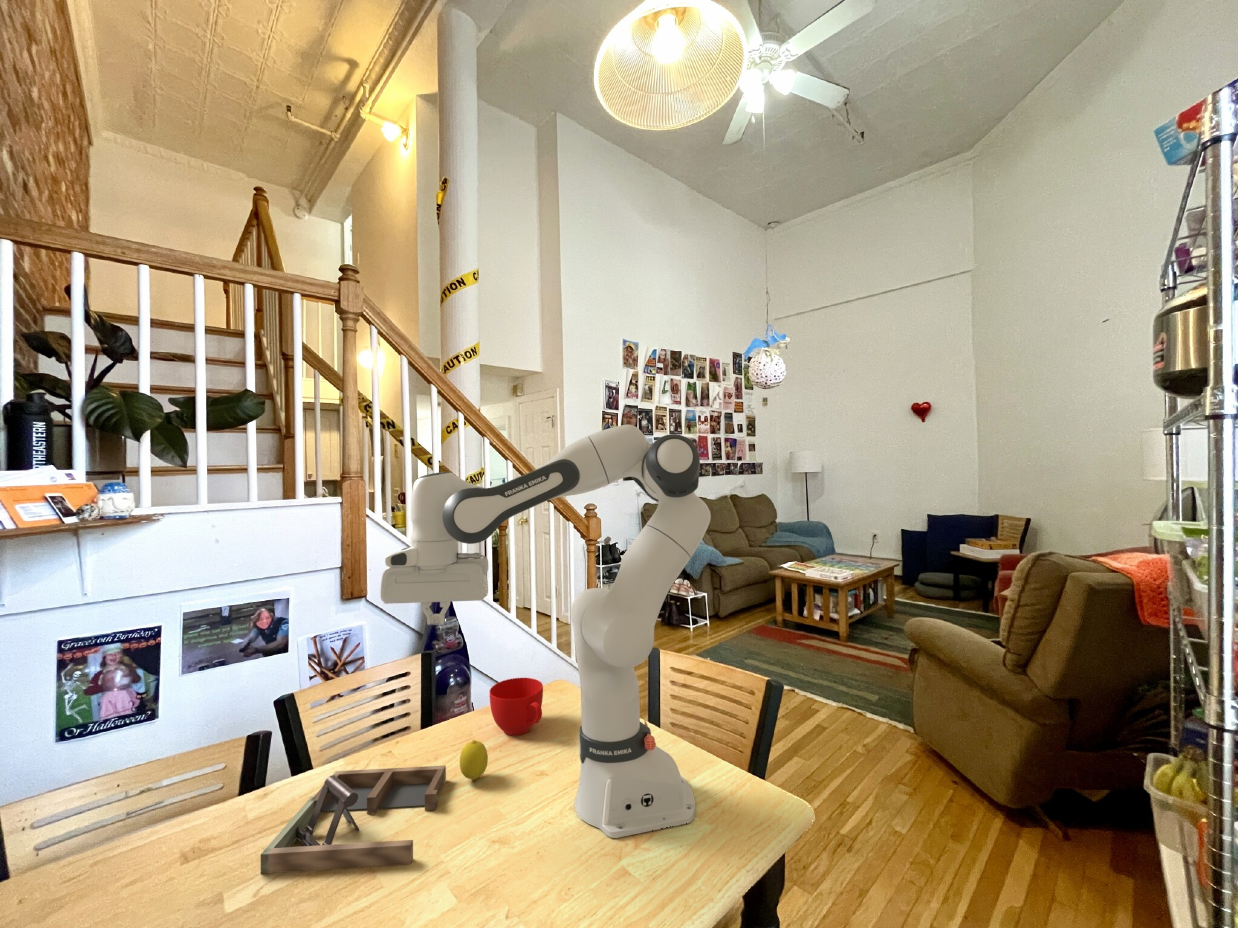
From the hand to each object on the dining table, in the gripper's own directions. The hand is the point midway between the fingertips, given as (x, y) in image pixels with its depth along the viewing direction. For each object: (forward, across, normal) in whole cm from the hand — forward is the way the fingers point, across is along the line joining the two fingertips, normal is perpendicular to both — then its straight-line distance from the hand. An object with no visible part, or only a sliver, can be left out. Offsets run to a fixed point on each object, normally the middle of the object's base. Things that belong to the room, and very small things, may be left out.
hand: (435, 623), depth 100 cm
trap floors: (+33, +11, 0) cm, 35 cm away
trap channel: (+33, +11, +7) cm, 35 cm away
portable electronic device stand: (+33, +15, +11) cm, 38 cm away
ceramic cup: (+33, -13, -23) cm, 43 cm away
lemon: (+33, -6, -4) cm, 34 cm away
